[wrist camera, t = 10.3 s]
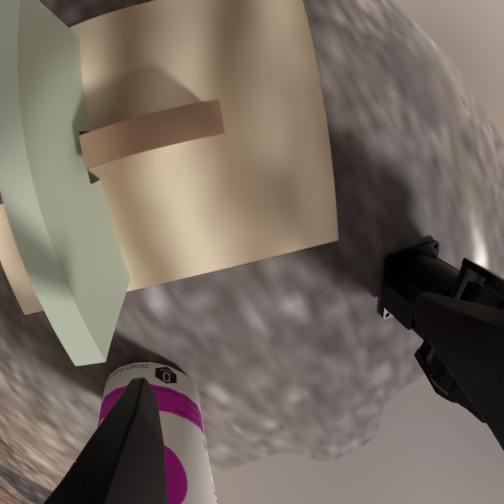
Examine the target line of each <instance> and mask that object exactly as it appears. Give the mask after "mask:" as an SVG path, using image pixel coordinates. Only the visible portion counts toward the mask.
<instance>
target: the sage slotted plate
mask: <svg viewBox="0 0 504 504" xmlns="http://www.w3.org/2000/svg"><path fill="white" fill-rule="evenodd" d="M88 132H91V131H90V126H89V120H88V114H87V108H86V101H85V94H84V86H83V78H82V68H81V57H80V44H79V37H78V36H77V35H76V34H75V33H74V32H72V31H71V30H70V29H69V28H68V27H67V26H66V25H65V24H64V23H63V22H62V21H61V20H60V19H59V18H57V17H56V16H55V15H54V14H53V13H52V12H51V11H50V10H49V9H48V8H47V7H46V6H44V5H43V4H42V3H41V2H40V1H39V0H0V192H1V196H2V200H3V204H4V208H5V211H6V215H7V218H8V221H9V225H10V228H11V231H12V234H13V237H14V240H15V243H16V246H17V248H18V251H19V254H20V257H21V259H22V262H23V264H24V267H25V269H26V272H27V274H28V277H29V279H30V281H31V284H32V286H33V288H34V290H35V293H36V295H37V297H38V299H39V301H40V303H41V305H42V307H43V309H44V311H45V313H46V315H47V317H48V319H49V321H50V323H51V325H52V327H53V329H54V331H55V332H56V334H57V336H58V338H59V340H60V341H61V343H62V345H63V347H64V348H65V350H66V352H67V353H68V355H69V357H70V358H71V360H72V362H73V363H74V365H75V366H81V365H89V364H95V363H102V362H106V359H107V355H108V352H109V348H110V344H111V340H112V337H113V333H114V330H115V326H116V323H117V320H118V316H119V313H120V310H121V307H122V303H123V300H124V297H125V294H126V291H127V288H128V285H129V282H130V279H131V278H130V275H129V272H128V269H127V267H126V264H125V261H124V258H123V255H122V252H121V249H120V246H119V243H118V239H117V236H116V233H115V230H114V226H113V223H112V220H111V216H110V213H109V209H108V206H107V202H106V198H105V194H104V190H103V187H102V182H101V180H99V181H96V182H93V183H90V180H89V175H88V171H87V169H86V167H85V163H84V158H83V154H82V149H81V144H80V138H79V136H80V135H83V134H85V133H88Z"/></svg>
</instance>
